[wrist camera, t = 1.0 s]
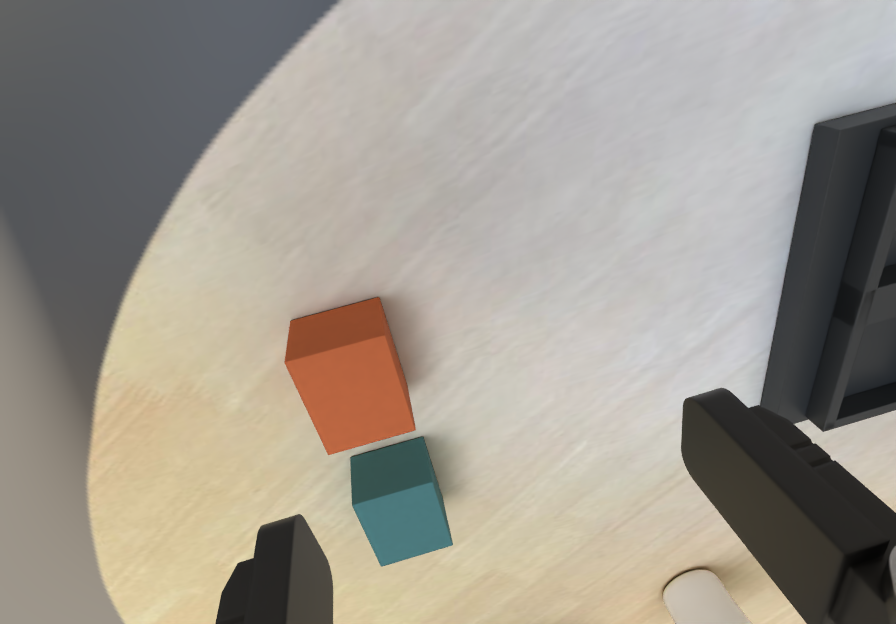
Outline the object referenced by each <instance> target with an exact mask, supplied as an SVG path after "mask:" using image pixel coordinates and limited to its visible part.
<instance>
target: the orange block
mask: <svg viewBox="0 0 896 624" xmlns="http://www.w3.org/2000/svg"><path fill="white" fill-rule="evenodd" d="M285 365H286V367H287V369H288V371H289V373H290V375H291V377H292V379H293V382H294V384H295V386H296V388H297V390H298V392H299V394H300V396H301V398H302V401H303V403H304V405H305V407H306V409H307V411H308V413H309V415H310V417H311V420H312V422H313V424H314V426H315V428H316V430H317V432H318V434H319V436H320V439H321V441H322V443H323V445H324V447H325V449H326V451H327V453H328V455H330V454H334V453H337V452H341V451H344V450H348V449H351V448H355V447H358V446H362V445H365V444H369V443H372V442H376V441H379V440H383V439H386V438H390V437H393V436H397V435H400V434H404V433H407V432H411V431H414V430H415V429H416V428H415V423H414V418H413V413H412V407H411V402H410V397H409V392H408V387H407V384H406V380H405V377H404V374H403V371H402V368H401V364H400V361H399V358H398V355H397V352H396V349H395V345H394V342H393V339H392V336H391V333H390V329H389V326H388V323H387V320H386V317H385V314H384V310H383V307H382V304H381V301H380V298H379V297H377V298H374V299H370V300H366V301H362V302H359V303H355V304H351V305H347V306H344V307H340V308H336V309H333V310H329V311H325V312H321V313H318V314H314V315H310V316H306V317H303V318H299V319H295V320H292V321H290V327H289V334H288V342H287V349H286V356H285Z"/></svg>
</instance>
